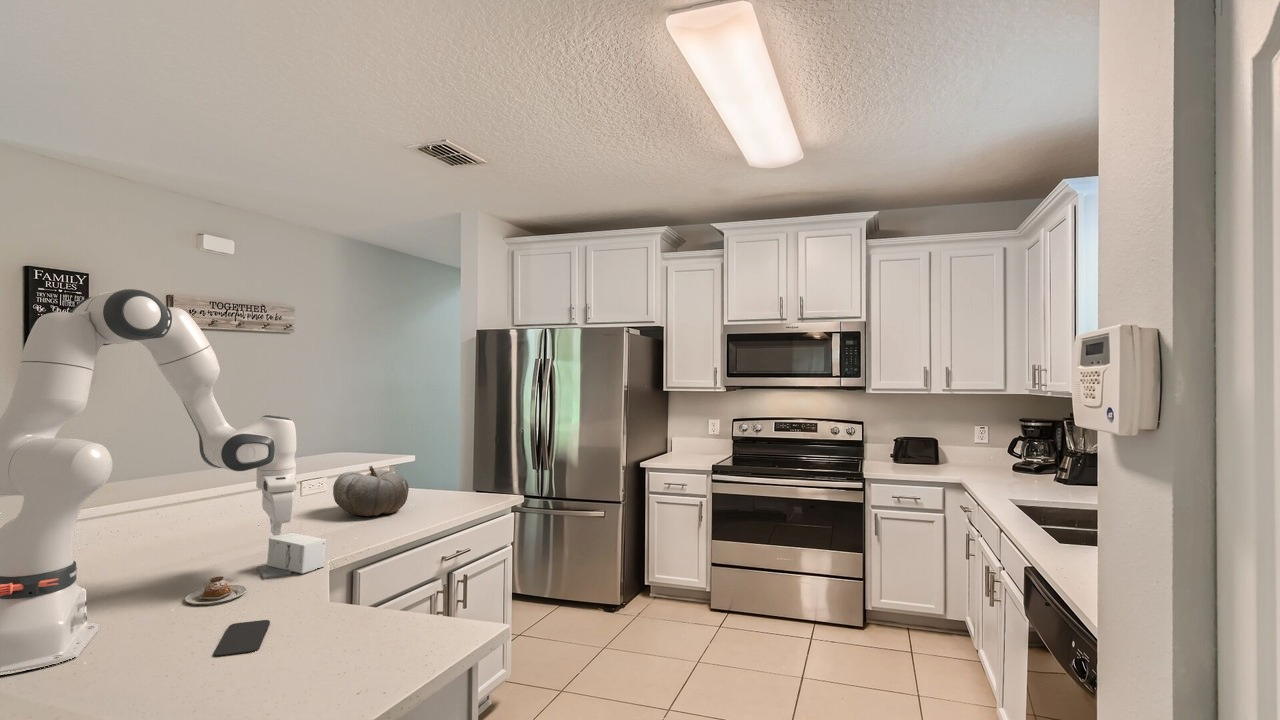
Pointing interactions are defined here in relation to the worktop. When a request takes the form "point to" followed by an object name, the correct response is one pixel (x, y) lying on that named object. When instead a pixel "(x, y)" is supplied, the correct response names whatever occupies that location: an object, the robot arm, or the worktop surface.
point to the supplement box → (296, 552)
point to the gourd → (370, 492)
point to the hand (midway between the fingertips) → (275, 534)
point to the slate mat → (272, 572)
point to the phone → (242, 638)
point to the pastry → (215, 592)
